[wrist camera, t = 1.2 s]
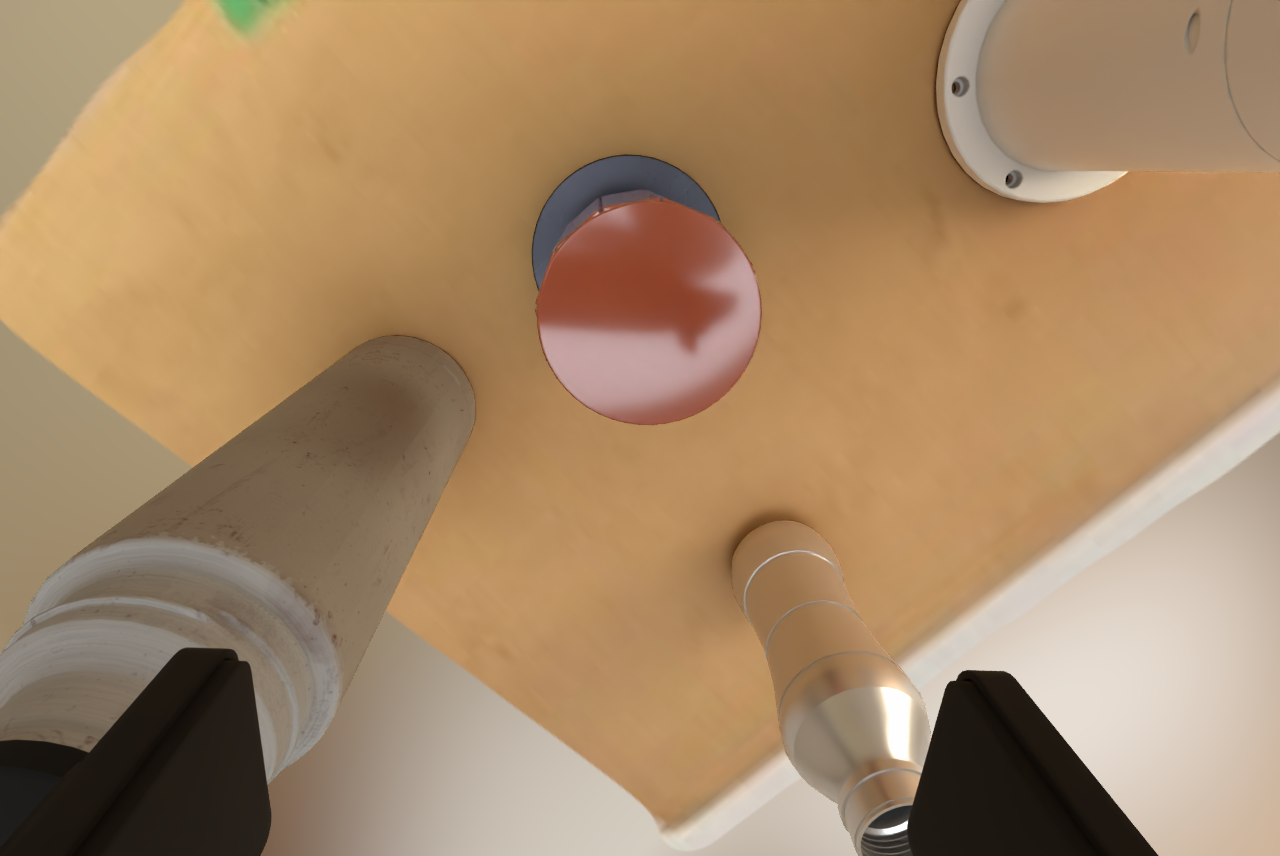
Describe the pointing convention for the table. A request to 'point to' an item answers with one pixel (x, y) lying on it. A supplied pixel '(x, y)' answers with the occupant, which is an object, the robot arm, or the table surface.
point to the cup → (647, 309)
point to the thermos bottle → (244, 567)
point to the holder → (608, 180)
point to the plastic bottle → (833, 685)
